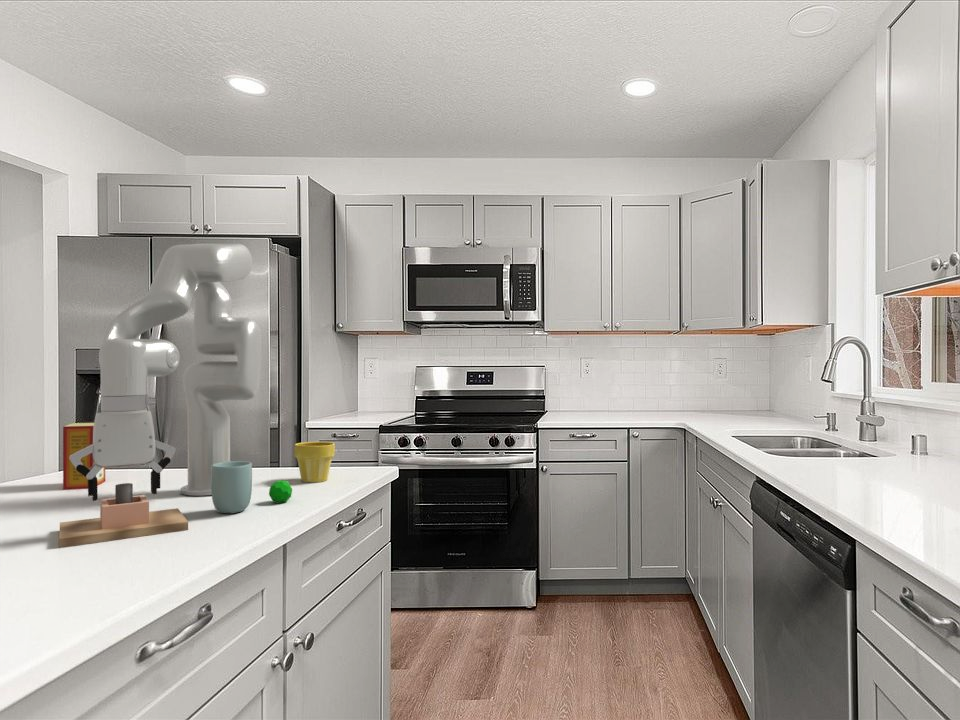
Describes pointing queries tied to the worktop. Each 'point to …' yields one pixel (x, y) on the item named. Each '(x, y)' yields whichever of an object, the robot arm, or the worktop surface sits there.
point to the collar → (124, 512)
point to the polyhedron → (280, 491)
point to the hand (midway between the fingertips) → (125, 496)
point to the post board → (93, 531)
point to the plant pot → (314, 460)
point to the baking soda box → (74, 441)
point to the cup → (231, 486)
